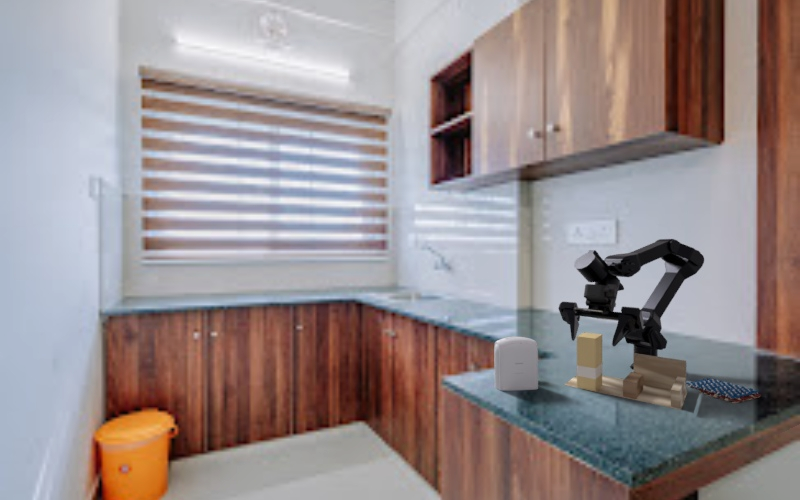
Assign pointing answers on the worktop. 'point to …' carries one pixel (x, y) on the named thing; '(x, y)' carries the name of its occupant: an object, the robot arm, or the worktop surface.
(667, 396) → the wooden blocks on plank
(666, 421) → the worktop surface
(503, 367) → the photo printer
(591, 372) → the tea box
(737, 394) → the woven mat
